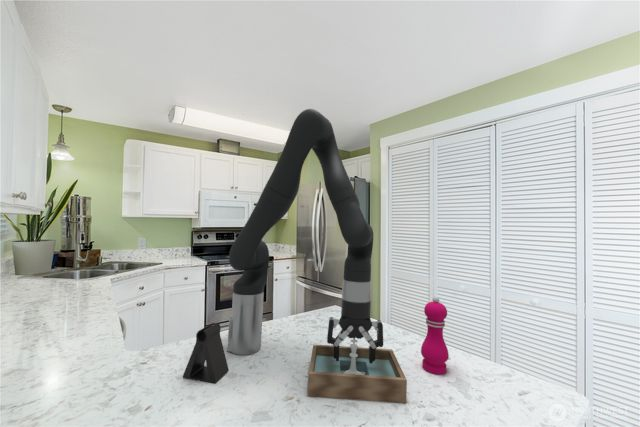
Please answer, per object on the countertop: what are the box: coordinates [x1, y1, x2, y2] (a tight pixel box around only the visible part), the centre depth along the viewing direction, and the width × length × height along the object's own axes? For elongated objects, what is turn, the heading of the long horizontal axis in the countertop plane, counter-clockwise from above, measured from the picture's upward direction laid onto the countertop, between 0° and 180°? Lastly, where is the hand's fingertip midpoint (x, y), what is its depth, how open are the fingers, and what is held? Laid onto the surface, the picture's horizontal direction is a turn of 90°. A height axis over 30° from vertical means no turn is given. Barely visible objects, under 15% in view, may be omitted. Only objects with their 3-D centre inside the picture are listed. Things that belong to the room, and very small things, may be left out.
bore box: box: [306, 344, 408, 404], centre depth 72 cm, size 22×16×5 cm
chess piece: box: [343, 338, 363, 375], centre depth 74 cm, size 5×5×10 cm
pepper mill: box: [420, 295, 450, 375], centre depth 80 cm, size 7×7×20 cm
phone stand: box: [182, 322, 230, 384], centre depth 72 cm, size 9×6×12 cm, turn 78°
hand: (354, 361), depth 73 cm, fingers open, 8 cm apart
